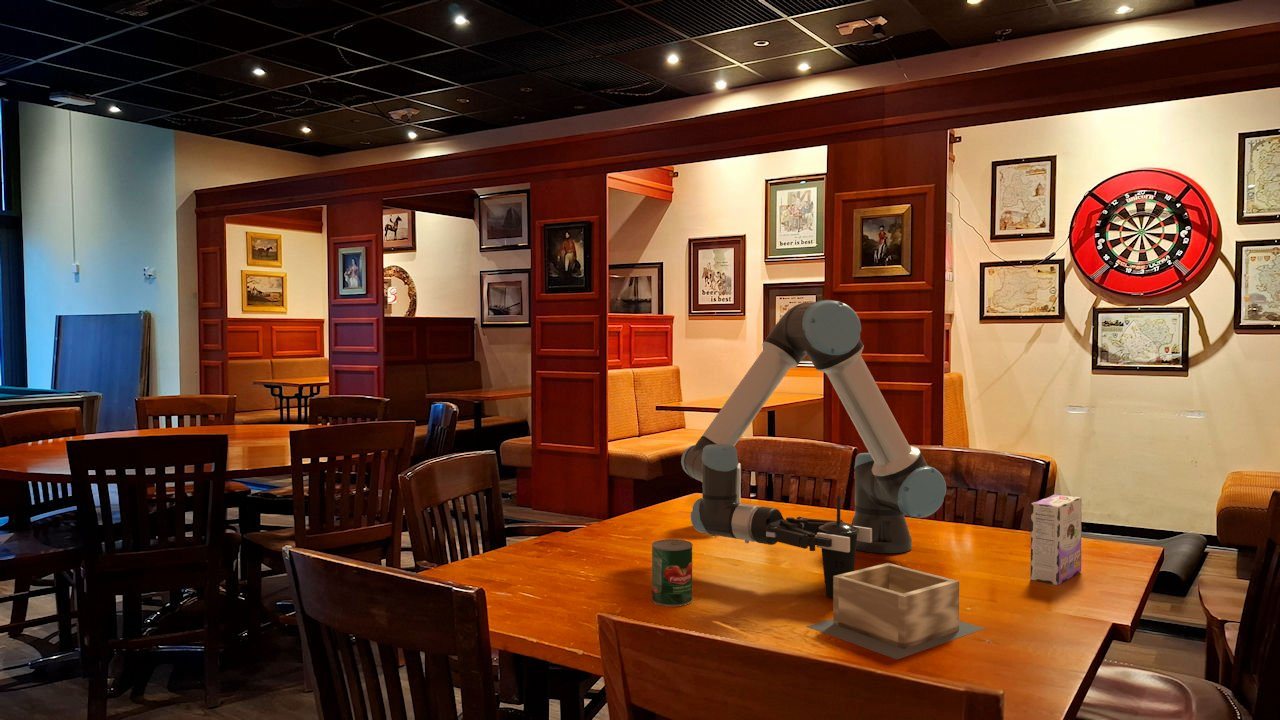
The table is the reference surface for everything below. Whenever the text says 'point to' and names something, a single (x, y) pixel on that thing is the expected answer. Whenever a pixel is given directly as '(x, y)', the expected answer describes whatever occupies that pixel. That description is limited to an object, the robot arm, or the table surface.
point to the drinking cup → (835, 559)
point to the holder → (896, 604)
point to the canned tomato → (672, 572)
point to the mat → (885, 647)
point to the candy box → (1055, 539)
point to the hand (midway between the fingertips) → (860, 540)
